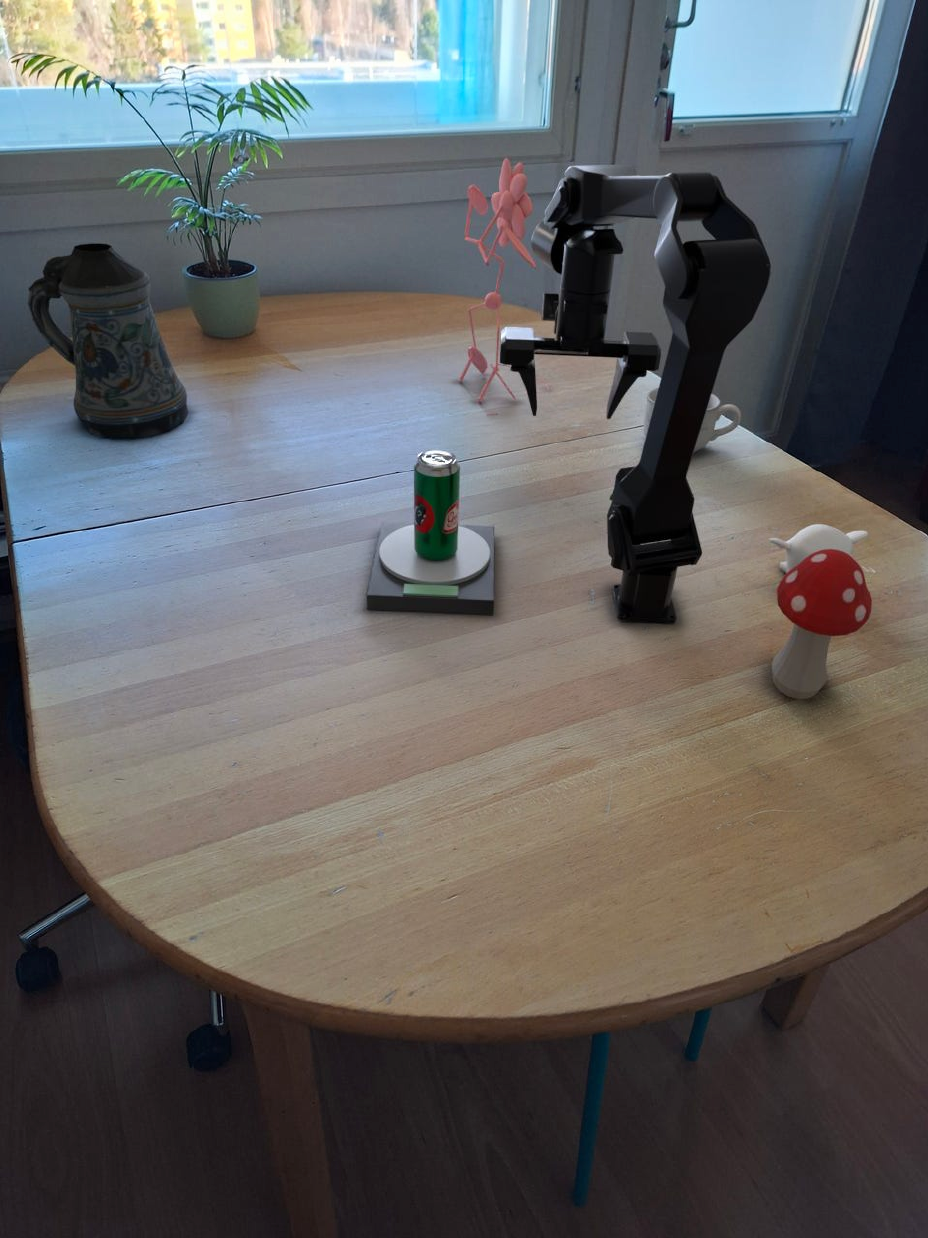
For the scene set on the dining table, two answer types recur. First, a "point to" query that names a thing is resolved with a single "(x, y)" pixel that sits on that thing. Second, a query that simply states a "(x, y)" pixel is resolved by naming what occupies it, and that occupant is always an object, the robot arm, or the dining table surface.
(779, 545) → the figurine
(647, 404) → the teacup
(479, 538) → the kitchen scale
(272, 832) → the dining table surface
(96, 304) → the beer stein
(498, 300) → the figurine
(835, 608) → the decorative mushroom
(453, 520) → the soda can
